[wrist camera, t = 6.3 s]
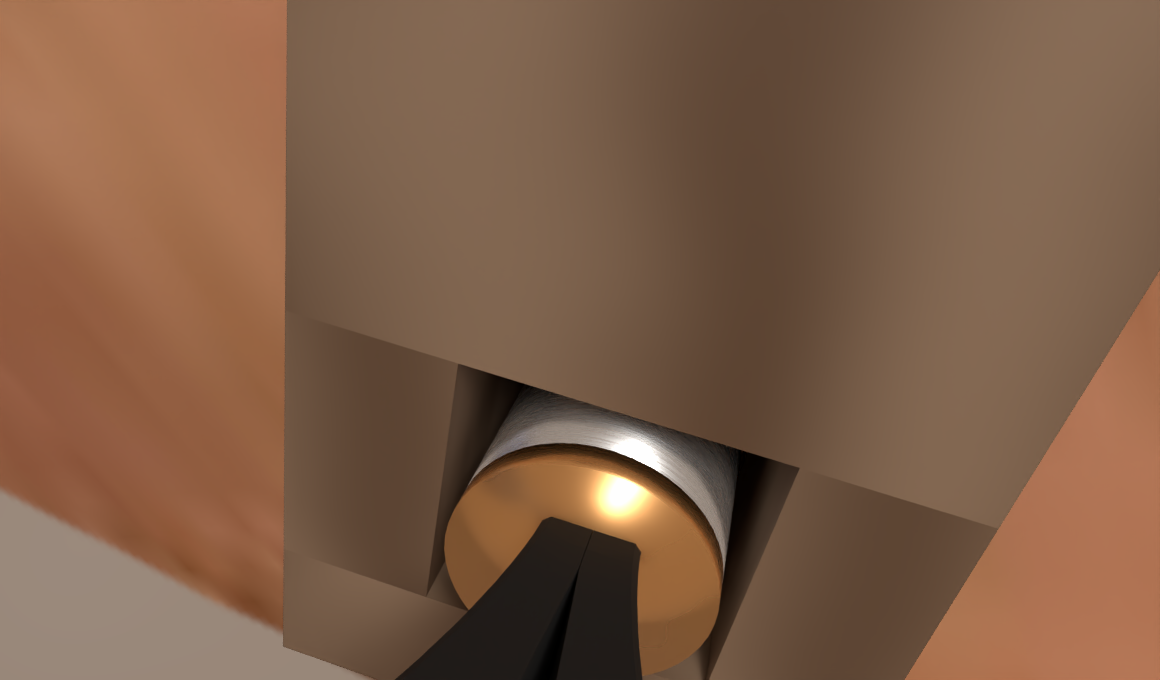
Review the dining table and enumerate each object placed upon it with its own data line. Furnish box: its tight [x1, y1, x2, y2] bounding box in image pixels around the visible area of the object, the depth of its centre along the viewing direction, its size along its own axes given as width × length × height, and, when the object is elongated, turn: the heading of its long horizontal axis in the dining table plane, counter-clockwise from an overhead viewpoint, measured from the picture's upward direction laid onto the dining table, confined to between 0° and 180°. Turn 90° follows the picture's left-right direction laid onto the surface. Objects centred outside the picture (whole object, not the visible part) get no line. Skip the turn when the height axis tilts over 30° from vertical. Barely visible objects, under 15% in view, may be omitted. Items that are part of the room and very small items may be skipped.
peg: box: [444, 384, 741, 676], centre depth 14 cm, size 4×4×4 cm
